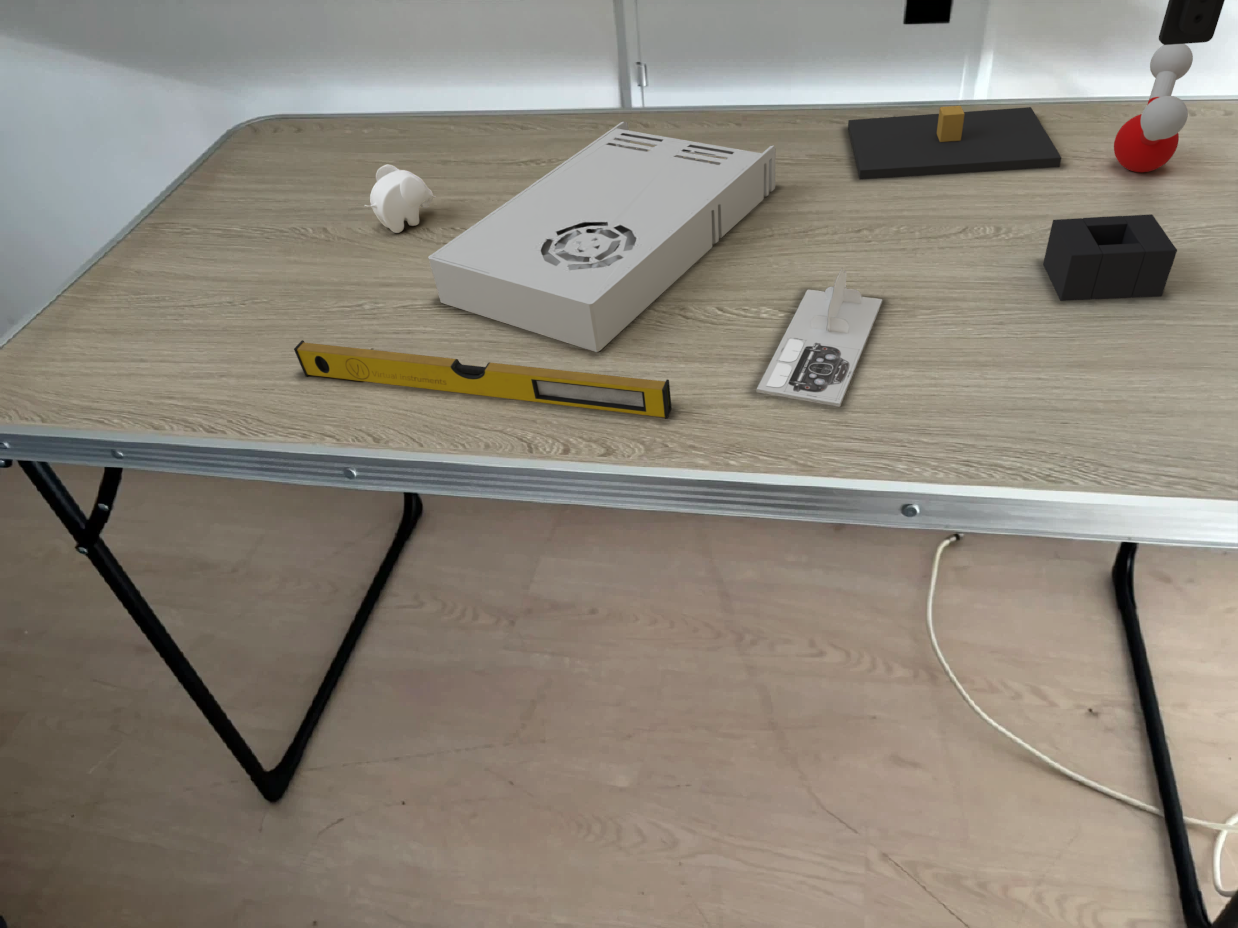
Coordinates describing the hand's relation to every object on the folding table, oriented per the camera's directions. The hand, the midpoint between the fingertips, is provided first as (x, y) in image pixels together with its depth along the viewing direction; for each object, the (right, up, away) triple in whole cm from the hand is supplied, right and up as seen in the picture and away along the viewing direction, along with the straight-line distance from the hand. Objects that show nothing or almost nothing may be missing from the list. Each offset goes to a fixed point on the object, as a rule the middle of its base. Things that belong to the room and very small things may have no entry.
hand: (1158, 18), depth 65 cm
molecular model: (+14, -2, +28) cm, 32 cm away
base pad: (-2, +3, +36) cm, 36 cm away
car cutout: (-21, -22, +12) cm, 32 cm away
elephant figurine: (-61, -5, +37) cm, 72 cm away
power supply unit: (-38, -9, +29) cm, 49 cm away
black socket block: (+4, -16, +15) cm, 22 cm away
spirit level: (-50, -25, +13) cm, 57 cm away
